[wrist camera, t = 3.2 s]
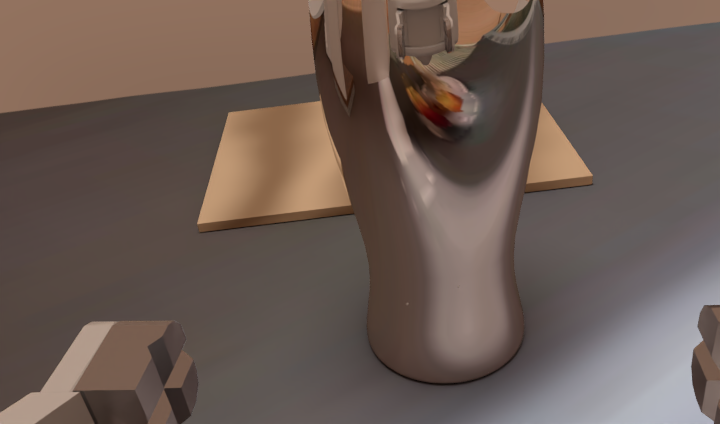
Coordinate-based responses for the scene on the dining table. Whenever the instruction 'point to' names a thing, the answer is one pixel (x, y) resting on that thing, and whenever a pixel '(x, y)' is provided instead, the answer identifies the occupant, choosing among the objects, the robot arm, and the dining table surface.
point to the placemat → (324, 168)
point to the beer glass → (435, 168)
